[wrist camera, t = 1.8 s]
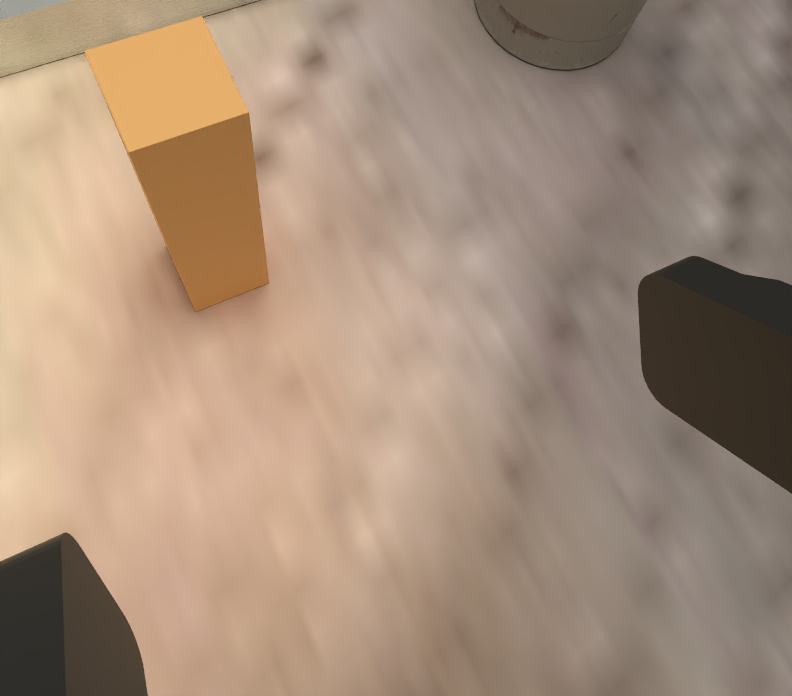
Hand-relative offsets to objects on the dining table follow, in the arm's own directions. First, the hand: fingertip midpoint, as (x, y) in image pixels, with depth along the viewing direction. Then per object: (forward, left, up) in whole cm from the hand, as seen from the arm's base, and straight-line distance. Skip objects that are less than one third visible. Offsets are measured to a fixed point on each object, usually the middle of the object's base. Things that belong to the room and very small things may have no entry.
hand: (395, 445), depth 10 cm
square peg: (-6, -10, -19) cm, 22 cm away
